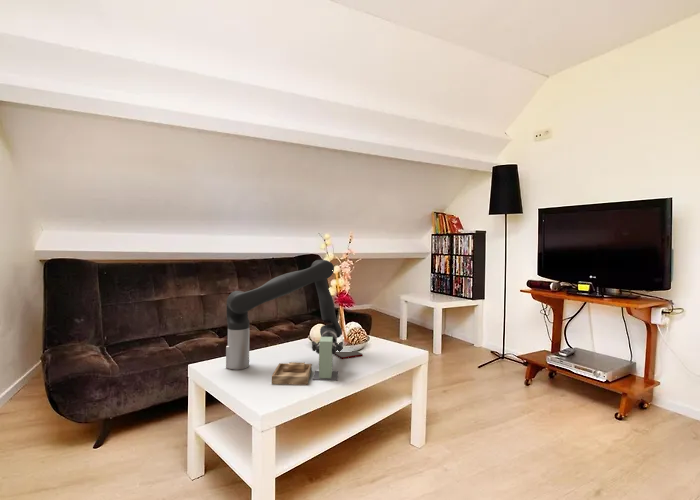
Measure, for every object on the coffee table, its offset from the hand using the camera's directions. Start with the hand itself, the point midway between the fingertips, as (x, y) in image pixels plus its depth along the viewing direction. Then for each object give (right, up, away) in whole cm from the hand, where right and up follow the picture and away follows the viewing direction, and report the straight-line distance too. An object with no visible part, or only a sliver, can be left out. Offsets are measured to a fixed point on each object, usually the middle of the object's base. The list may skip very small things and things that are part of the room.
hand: (325, 351), depth 156 cm
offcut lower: (-14, -9, +5) cm, 17 cm away
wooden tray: (-14, -11, +1) cm, 17 cm away
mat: (0, -11, +3) cm, 11 cm away
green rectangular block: (0, -11, +3) cm, 11 cm away
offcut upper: (-13, -8, +5) cm, 16 cm away
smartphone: (+5, -11, +38) cm, 40 cm away
